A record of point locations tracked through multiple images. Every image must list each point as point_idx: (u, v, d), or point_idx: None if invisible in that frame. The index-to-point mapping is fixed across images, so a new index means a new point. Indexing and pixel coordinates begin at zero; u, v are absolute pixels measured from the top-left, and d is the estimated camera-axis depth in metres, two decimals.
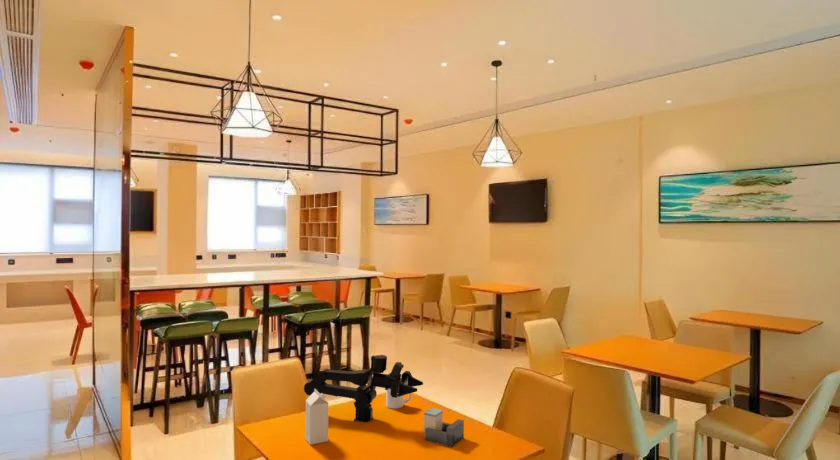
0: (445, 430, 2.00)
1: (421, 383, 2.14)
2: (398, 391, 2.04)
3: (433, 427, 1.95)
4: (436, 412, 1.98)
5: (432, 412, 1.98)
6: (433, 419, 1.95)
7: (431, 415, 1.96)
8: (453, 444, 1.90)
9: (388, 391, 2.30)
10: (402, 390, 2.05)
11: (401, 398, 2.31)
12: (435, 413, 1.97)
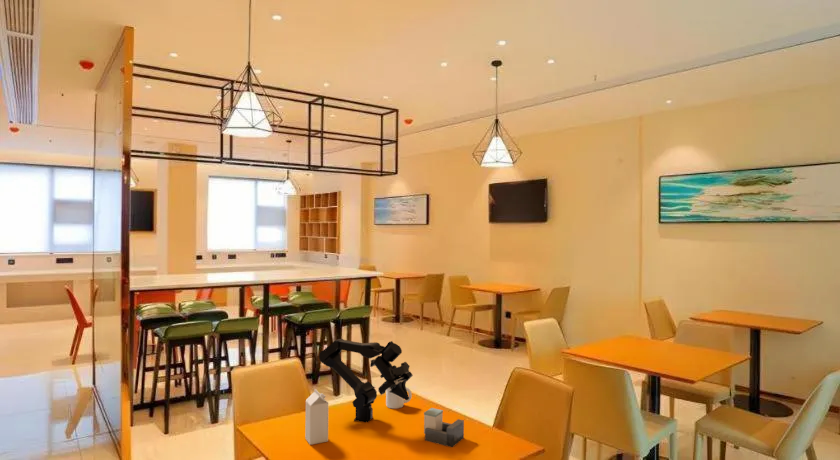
0: (445, 430, 2.00)
1: None
2: (392, 388, 2.04)
3: (433, 427, 1.95)
4: (436, 412, 1.98)
5: (432, 412, 1.98)
6: (433, 419, 1.95)
7: (431, 415, 1.96)
8: (453, 444, 1.90)
9: (388, 391, 2.30)
10: (396, 389, 2.06)
11: (401, 398, 2.31)
12: (435, 413, 1.97)
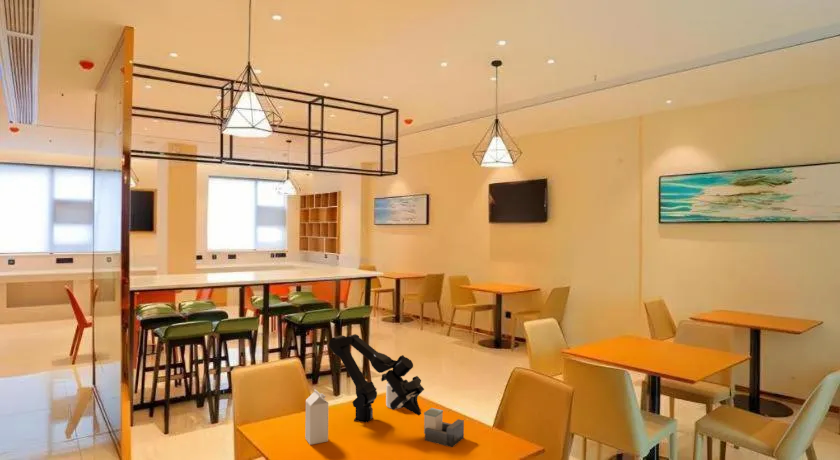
0: (445, 430, 2.00)
1: None
2: (404, 403, 2.02)
3: (433, 427, 1.95)
4: (436, 412, 1.98)
5: (432, 412, 1.98)
6: (433, 419, 1.95)
7: (431, 415, 1.96)
8: (453, 444, 1.90)
9: (388, 391, 2.30)
10: (408, 404, 2.03)
11: None
12: (435, 413, 1.97)
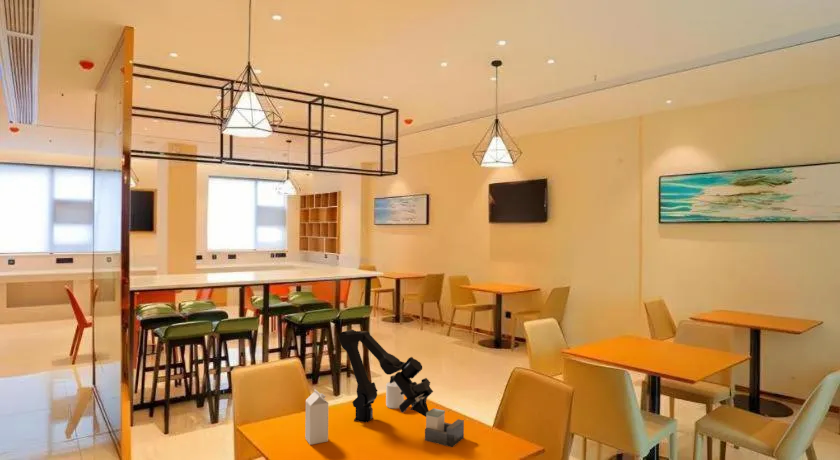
0: (445, 430, 2.00)
1: None
2: (413, 406, 1.99)
3: (435, 427, 1.95)
4: (438, 412, 1.97)
5: (434, 412, 1.97)
6: (435, 419, 1.95)
7: (433, 415, 1.95)
8: (453, 444, 1.90)
9: (388, 391, 2.30)
10: (417, 406, 2.01)
11: (401, 398, 2.31)
12: (437, 413, 1.96)
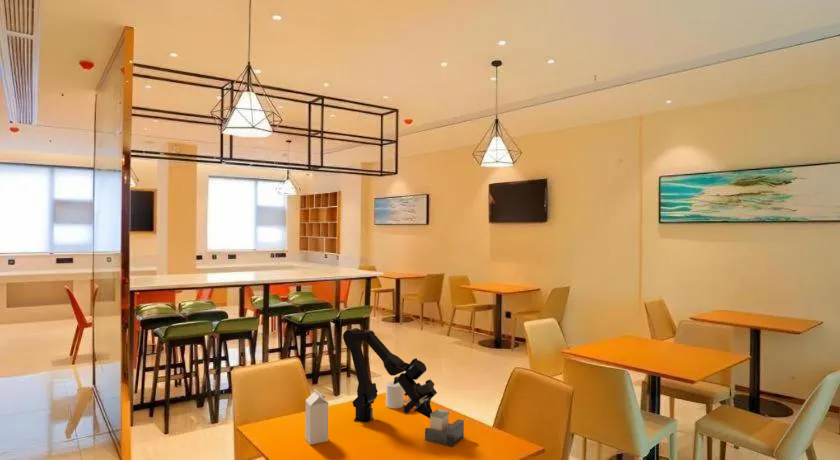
0: None
1: None
2: (417, 407, 1.98)
3: (439, 428, 1.94)
4: (442, 413, 1.96)
5: (438, 413, 1.96)
6: (440, 420, 1.94)
7: (437, 416, 1.94)
8: (453, 444, 1.90)
9: (388, 391, 2.30)
10: (421, 408, 2.00)
11: (401, 398, 2.31)
12: (441, 414, 1.95)
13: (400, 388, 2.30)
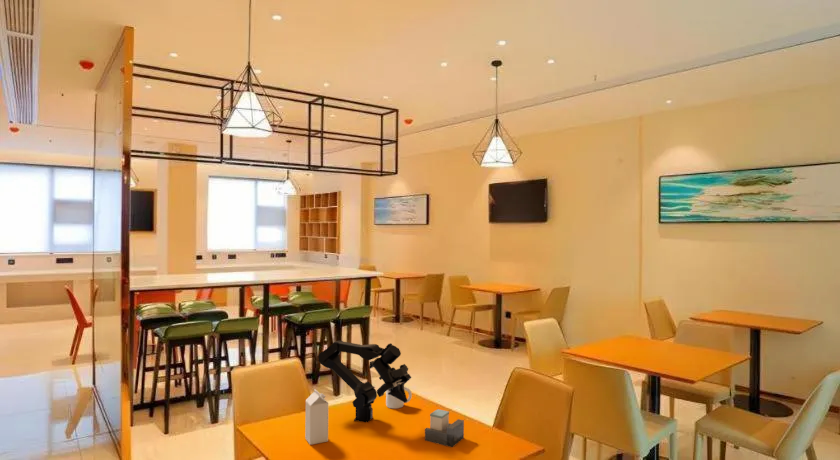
0: None
1: None
2: (390, 390, 2.05)
3: (439, 428, 1.94)
4: (442, 413, 1.96)
5: (438, 413, 1.96)
6: (440, 420, 1.94)
7: (437, 416, 1.94)
8: (453, 444, 1.90)
9: (388, 391, 2.30)
10: (394, 391, 2.06)
11: None
12: (441, 414, 1.95)
13: None
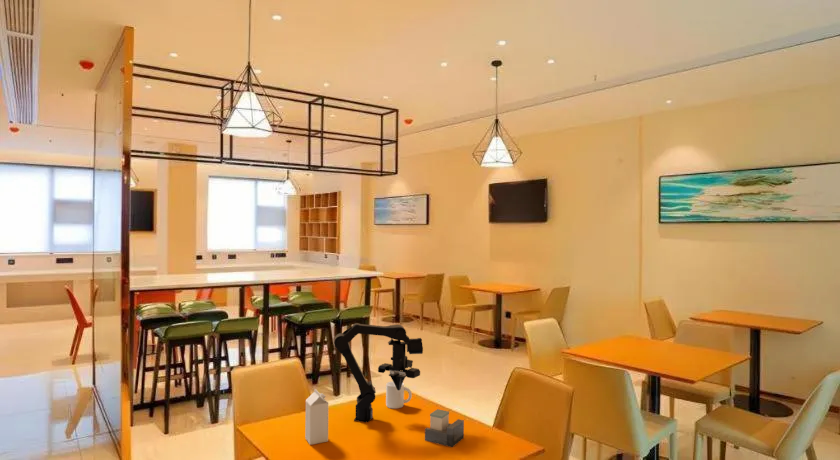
0: None
1: None
2: (405, 375, 2.16)
3: (439, 428, 1.94)
4: (442, 413, 1.96)
5: (438, 413, 1.96)
6: (440, 420, 1.94)
7: (437, 416, 1.94)
8: (453, 444, 1.90)
9: (388, 391, 2.30)
10: (400, 377, 2.17)
11: (401, 398, 2.31)
12: (441, 414, 1.95)
13: None
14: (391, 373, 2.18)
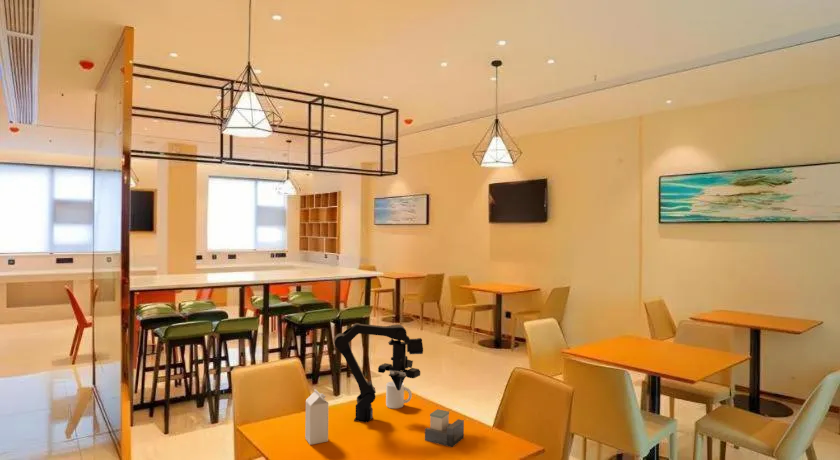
0: None
1: None
2: (405, 375, 2.16)
3: (439, 428, 1.94)
4: (442, 413, 1.96)
5: (438, 413, 1.96)
6: (440, 420, 1.94)
7: (437, 416, 1.94)
8: (453, 444, 1.90)
9: (388, 391, 2.30)
10: (400, 377, 2.17)
11: (401, 398, 2.31)
12: (441, 414, 1.95)
13: None
14: (391, 373, 2.18)
